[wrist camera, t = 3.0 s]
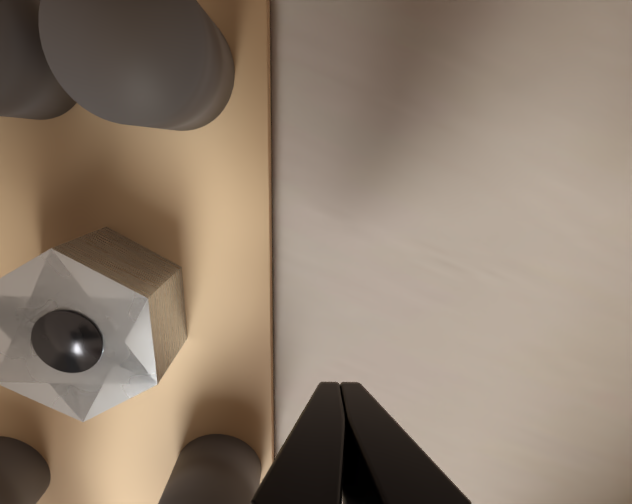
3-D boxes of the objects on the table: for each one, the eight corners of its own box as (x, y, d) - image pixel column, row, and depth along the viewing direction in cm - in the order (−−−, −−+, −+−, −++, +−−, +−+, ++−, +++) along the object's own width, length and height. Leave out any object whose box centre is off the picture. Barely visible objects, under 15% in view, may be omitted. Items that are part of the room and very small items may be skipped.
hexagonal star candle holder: (62, 369, 13) (1, 423, 10) (34, 224, 11) (-44, 246, 9) (190, 370, 13) (160, 424, 10) (178, 228, 11) (141, 250, 9)
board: (-66, 491, 15) (-186, 602, 11) (-240, -17, 10) (-553, -109, 6) (274, 494, 15) (262, 603, 12) (269, 0, 10) (246, -80, 7)
